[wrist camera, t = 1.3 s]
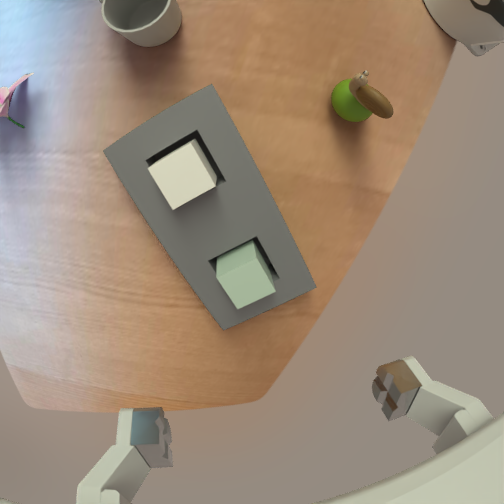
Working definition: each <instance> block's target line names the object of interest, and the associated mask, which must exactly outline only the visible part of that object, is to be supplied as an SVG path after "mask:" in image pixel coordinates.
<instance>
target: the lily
mask: <svg viewBox="0 0 504 504" xmlns="http://www.w3.org/2000/svg"><path fill="white" fill-rule="evenodd" d="M32 74H33V73H30V74H28V75H26V74H25V75H26V76H25V75H24V76H22V77H21V78H20V79H19V80H17V81H16V82H15V83H14V84H13V85H12V86H11V87H10V88H9V89H8V88H7V87H1V88H0V117H3V116H5V117H7V118H8V119H9V120H10V121H12V122H13V123H14V124H16V125H18V126H20V127H22V128H24V126H23V125H21V124H19V123H17V122H15V121H14V120H12V119H11V118H10V117H9V116H8V110H9V106H10V102H11V99H12V96H13V93H14V90H15V88H16V87H17V86H18V85H19V84H20V83H21V82H23V81H24V80H25V79H27V78H28V77H29V76H31V75H32Z"/></svg>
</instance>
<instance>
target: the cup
mask: <svg viewBox="0 0 504 504" xmlns="http://www.w3.org/2000/svg"><path fill="white" fill-rule="evenodd" d="M99 1H100V2H101V3H102V7H101V8H102V17H103V19H104V22H105V23H106V24H107V25H108V26H109V27H110V28H112V29H113V30H115V31H116V32H118V33H119V34H121V35H122V36H124V37H125V38H127V39H128V40H130V41H131V42H133V43H134V44H136V45H139V46H143V47H153V46H158V45H161V44H163V43H165V42H167V41H168V40H170V39H171V38H172V37H173V36H174V35H175V34H176V33H177V31H178V29H179V27H180V25H181V21H182V15H181V10H180V8H179V6H178V3H177V1H176V0H99Z"/></svg>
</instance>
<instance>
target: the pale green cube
mask: <svg viewBox="0 0 504 504" xmlns="http://www.w3.org/2000/svg"><path fill="white" fill-rule="evenodd" d="M216 278H217V279H218V281H219V282H220V284H221V285H222V287H223V288H224V290H225V291H226V293H227V294H228V296H229V297H230V299H231V300H232V302H233V303H234V305H235V306H236V308H237V309H240V308H242V307H244V306H246V305H248V304H250V303H253V302H255V301H257V300H259V299H261V298H263V297H265V296H268V295H270V294H272V293H274V292H276V290H275V287H274V283H273V280H272V276H271V272H270V270H269V268H268V266H267V264H266V263H265V261H264V259H263V257H262V256H261V254H260V252H259V250H258V248H257V247H256V245H255V243H254V241H253V240H251V241H249V242H247V243H245V244H243V245H241V246H239V247H237V248H235V249H233V250H231V251H229V252H227V253H225V254H223V255H221V256H219V257H217V274H216Z"/></svg>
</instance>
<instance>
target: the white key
mask: <svg viewBox="0 0 504 504" xmlns="http://www.w3.org/2000/svg"><path fill="white" fill-rule="evenodd" d="M148 170H149V172H150V174H151V175H152V177H153V178H154V180H155V182H156V183H157V185H158V187H159V188H160V190H161V192H162V193H163V195H164V196H165V198H166V200H167V201H168V203H169V205H170V206H171V208H172V209H173V210H174V209H176V208H177V207H179V206H181V205H183V204H184V203H186V202H188V201H190V200H191V199H193V198H195V197H197V196H199V195H201V194H202V193H204V192H206V191H208V190H210V189H212V188H213V187H215V186H216V179H217V176H216V174H215V172H214V170H213V168H212V167H211V165H210V163H209V161H208V160H207V158H206V156H205V154H204V153H203V151H202V149H201V147H200V146H199V144H198V142H197V140H196V139H194V140H192V141H190V142H188V143H186V144H185V145H183V146H181V147H180V148H178V149H176V150H174V151H173V152H171V153H169V154H168V155H166V156H164V157H163V158H161V159H159V160H158V161H156V162H155V163H154V164H153V165H151V166H150V167H149V168H148Z"/></svg>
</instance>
